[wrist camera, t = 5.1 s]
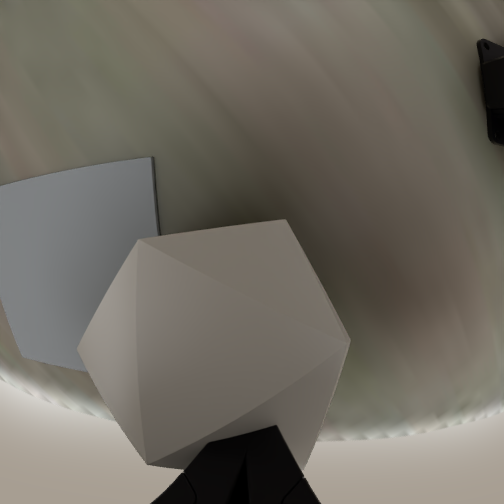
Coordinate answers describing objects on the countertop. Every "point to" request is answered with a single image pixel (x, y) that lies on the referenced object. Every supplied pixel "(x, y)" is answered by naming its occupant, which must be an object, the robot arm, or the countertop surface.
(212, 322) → the die
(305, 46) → the countertop surface
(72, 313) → the mat
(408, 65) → the countertop surface
